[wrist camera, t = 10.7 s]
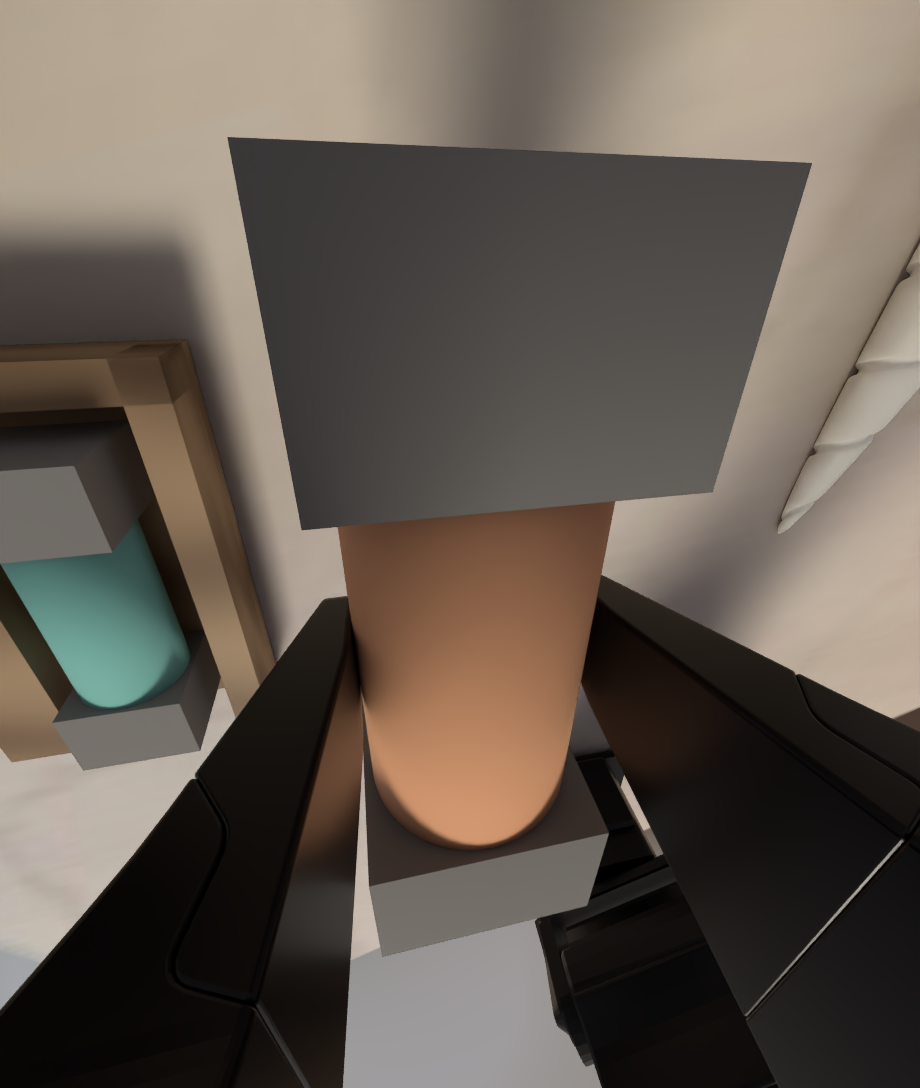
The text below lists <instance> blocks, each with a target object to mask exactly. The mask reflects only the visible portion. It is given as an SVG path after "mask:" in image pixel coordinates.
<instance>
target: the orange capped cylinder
mask: <svg viewBox="0 0 920 1088" xmlns="http://www.w3.org/2000/svg"><path fill="white" fill-rule="evenodd" d="M228 143H229V148H230V153H231V158H232V164H233V169H234V174H235V180H236V185H237V190H238V195H239V201H240V206H241V211H242V217H243V222H244V227H245V232H246V238H247V243H248V248H249V254H250V259H251V264H252V270H253V275H254V280H255V285H256V291H257V296H258V301H259V307H260V312H261V317H262V322H263V328H264V333H265V338H266V344H267V349H268V354H269V360H270V365H271V370H272V375H273V381H274V386H275V391H276V397H277V402H278V407H279V412H280V418H281V423H282V428H283V434H284V439H285V444H286V449H287V455H288V460H289V465H290V471H291V476H292V481H293V487H294V492H295V497H296V502H297V508H298V513H299V518H300V524H301V529H302V530H310V529H320V528H331V527H338V532H339V539H340V546H341V553H342V560H343V567H344V574H345V581H346V588H347V595H348V602H349V609H350V615H351V622H352V629H353V636H354V643H355V650H356V657H357V664H358V671H359V678H360V685H361V700H362V715H363V754H364V778H365V802H366V826H367V849H368V873H369V889H370V894H371V899H372V905H373V910H374V915H375V921H376V926H377V931H378V936H379V942H380V947H381V952H382V957H384V956H388V955H392V954H396V953H400V952H404V951H408V950H412V949H416V948H420V947H424V946H428V945H432V944H436V943H440V942H444V941H448V940H452V939H456V938H460V937H464V936H468V935H472V934H476V933H480V932H484V931H488V930H492V929H496V928H500V927H504V926H508V925H512V924H516V923H520V922H524V921H528V920H532V919H536V918H540V917H544V916H548V915H552V914H556V913H560V912H564V911H568V910H572V909H576V908H580V907H584V906H587V904H588V901H589V898H590V894H591V891H592V888H593V885H594V881H595V878H596V875H597V871H598V868H599V865H600V861H601V858H602V855H603V852H604V848H605V845H606V842H607V838H608V835H609V832H608V829H607V827H606V825H605V823H604V821H603V818H602V816H601V814H600V812H599V810H598V808H597V805H596V803H595V801H594V799H593V797H592V794H591V792H590V790H589V788H588V786H587V783H586V781H585V779H584V777H583V775H582V773H581V770H580V768H579V766H578V764H577V762H576V759H575V757H574V755H573V753H572V751H571V748H570V746H569V741H570V736H571V730H572V725H573V720H574V715H575V709H576V704H577V699H578V694H579V688H580V683H581V678H582V673H583V667H584V662H585V657H586V652H587V646H588V641H589V636H590V631H591V625H592V620H593V615H594V610H595V604H596V599H597V594H598V589H599V583H600V578H601V573H602V568H603V562H604V557H605V552H606V547H607V541H608V536H609V531H610V526H611V520H612V515H613V510H614V505H615V501H622V500H633V499H644V498H655V497H666V496H676V495H687V494H698V493H709V492H713V489H714V485H715V482H716V479H717V475H718V472H719V469H720V465H721V462H722V459H723V456H724V452H725V449H726V446H727V442H728V439H729V436H730V432H731V429H732V426H733V423H734V419H735V416H736V413H737V409H738V406H739V403H740V399H741V396H742V393H743V390H744V386H745V383H746V380H747V376H748V373H749V370H750V366H751V363H752V360H753V357H754V353H755V350H756V347H757V343H758V340H759V337H760V333H761V330H762V327H763V324H764V320H765V317H766V314H767V310H768V307H769V304H770V300H771V297H772V294H773V291H774V287H775V284H776V281H777V277H778V274H779V271H780V267H781V264H782V261H783V258H784V254H785V251H786V248H787V244H788V241H789V238H790V234H791V231H792V228H793V225H794V221H795V218H796V215H797V211H798V208H799V205H800V202H801V198H802V195H803V192H804V188H805V185H806V182H807V178H808V175H809V172H810V169H811V165H812V163H800V162H777V161H754V160H732V159H709V158H687V157H664V156H641V155H619V154H596V153H574V152H551V151H529V150H506V149H483V148H461V147H438V146H416V145H393V144H370V143H348V142H325V141H303V140H280V139H257V138H235V137H228Z"/></svg>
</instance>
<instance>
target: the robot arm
mask: <svg viewBox="0 0 920 1088" xmlns="http://www.w3.org/2000/svg"><path fill="white" fill-rule="evenodd" d="M581 684H582V687H583V689H584V692H585V694H586V697H587V699H588V702H589V704H590V706H591V708H592V710H593V712H594V714H595V716H596V718H597V720H598V722H599V725H600V727H601V729H602V731H603V733H604V735H605V737H606V739H607V741H608V743H609V745H610V747H611V749H612V751H611V752H606V753H600V754H595V755H590V756H585V757H580V758H575V759H576V762H577V764H578V766H579V768H580V770H581V773H582V775H583V777H584V779H585V781H586V783H587V786H588V788H589V790H590V792H591V794H592V797H593V799H594V801H595V803H596V805H597V808H598V810H599V812H600V814H601V816H602V818H603V821H604V823H605V825H606V827H607V829H608V832H609V835H608V838H607V842H606V845H605V848H604V852H603V855H602V858H601V861H600V865H599V868H598V871H597V875H596V878H595V881H594V885H593V888H592V891H591V894H590V898H589V901H588V904H587V906H584V907H580V908H576V909H572V910H568V911H564V912H560V913H556V914H552V915H548V916H544V917H540V918H538V919H537V920H536V921H535V924H536V928H537V931H538V935H539V938H540V942H541V945H542V949H543V953H544V957H545V962H546V968H547V975H548V981H549V988H550V994H551V1000H552V1007H553V1013H554V1017H555V1020H556V1023H557V1026H558V1027H559V1028H560V1029H561V1030H563V1031H564V1032H566V1033H567V1034H568V1035H569V1036H570V1038H571V1040H572V1042H573V1044H574V1046H575V1047H576V1049H577V1051H578V1053H579V1055H580V1058H581V1059H582V1061H583V1063H584V1064H585V1066H590V1065H592V1064H594V1065H595V1068H596V1071H597V1074H598V1077H599V1080H600V1083H601V1086H602V1088H920V731H918V730H916V729H914V728H912V727H910V726H907V725H905V724H903V723H901V722H898V721H896V720H894V719H892V718H890V717H887V716H885V715H883V714H881V713H878V712H876V711H874V710H872V709H870V708H868V707H866V706H864V705H862V704H860V703H857V702H855V701H853V700H851V699H849V698H847V697H845V696H843V695H841V694H839V693H837V692H835V691H833V690H831V689H829V688H827V687H825V686H823V685H821V684H819V683H817V682H815V681H813V680H811V679H809V678H807V677H805V676H803V675H801V674H797V675H795V672H794V671H792V670H791V669H789V668H787V667H785V666H783V665H781V664H779V663H777V662H775V661H773V660H771V659H769V658H767V657H765V656H763V655H761V654H759V653H757V652H755V651H753V650H751V649H749V648H747V647H745V646H743V645H741V644H739V643H737V642H735V641H733V640H731V639H729V638H727V637H725V636H723V635H721V634H719V633H717V632H715V631H713V630H711V629H709V628H707V627H705V626H703V625H701V624H699V623H697V622H695V621H693V620H691V619H689V618H687V617H685V616H683V615H681V614H679V613H677V612H675V611H673V610H671V609H669V608H667V607H665V606H663V605H661V604H659V603H657V602H655V601H653V600H651V599H649V598H647V597H645V596H643V595H641V594H639V593H637V592H635V591H633V590H631V589H629V588H627V587H625V586H623V585H621V584H619V583H617V582H615V581H613V580H611V579H609V578H607V577H605V576H603V575H601V578H600V583H599V589H598V594H597V599H596V604H595V610H594V615H593V620H592V625H591V631H590V636H589V641H588V646H587V652H586V657H585V662H584V667H583V673H582V678H581ZM362 759H363V715H362V700H361V685H360V678H359V671H358V664H357V657H356V650H355V643H354V636H353V629H352V622H351V615H350V609H349V602H348V596H344V597H335V598H327V599H324V600H323V601H322V602H321V603H320V605H319V606H318V608H317V609H316V610H315V612H314V613H313V614H312V616H311V617H310V618H309V620H308V621H307V623H306V624H305V625H304V627H303V628H302V629H301V631H300V632H299V633H298V635H297V636H296V637H295V639H294V640H293V642H292V643H291V644H290V646H289V647H288V648H287V650H286V651H285V652H284V654H283V655H282V656H281V658H280V659H279V661H278V662H277V663H276V665H275V666H274V667H273V669H272V670H271V671H270V673H269V674H268V675H267V677H266V678H265V680H264V681H263V682H262V684H261V685H260V686H259V688H258V689H257V690H256V692H255V693H254V694H253V696H252V697H251V699H250V700H249V701H248V703H247V704H246V705H245V707H244V708H243V709H242V711H241V712H240V714H239V715H238V716H237V718H236V719H235V720H234V722H233V723H232V724H231V726H230V727H229V728H228V730H227V731H226V733H225V734H224V735H223V737H222V738H221V739H220V741H219V742H218V743H217V745H216V746H215V747H214V749H213V750H212V752H211V753H210V754H209V756H208V757H207V758H206V760H205V761H204V762H203V764H202V765H201V766H200V768H199V769H198V771H197V772H196V773H195V778H196V779H191V780H190V781H189V782H188V784H187V785H186V786H185V788H184V789H183V790H182V792H181V793H180V795H179V796H178V797H177V799H176V800H175V801H174V803H173V804H172V805H171V807H170V808H169V809H168V811H167V812H166V813H165V815H164V816H163V817H162V818H161V820H160V821H159V822H158V824H157V825H156V826H155V827H154V829H153V830H152V831H151V833H150V834H149V835H148V837H147V838H146V839H145V840H144V842H143V843H142V844H141V846H140V847H139V848H138V849H137V851H136V852H135V853H134V855H133V856H132V857H131V858H130V859H129V861H128V862H127V863H126V864H125V865H124V867H123V868H122V869H121V870H120V871H119V873H118V874H117V875H116V876H115V877H114V879H113V880H112V881H111V882H110V883H109V884H108V886H107V887H106V888H105V889H104V890H103V892H102V893H101V894H100V895H99V896H98V898H97V899H96V900H95V901H94V902H93V904H92V905H91V906H90V907H89V908H88V909H87V911H86V912H85V913H84V914H83V915H82V916H81V918H80V919H79V920H78V921H77V922H76V923H75V925H74V926H73V927H72V928H71V929H70V930H69V931H68V933H67V934H66V935H65V936H64V937H63V938H62V939H61V941H60V942H59V943H58V944H57V945H56V946H55V947H54V949H53V950H52V951H51V952H50V953H49V954H48V956H47V957H46V958H45V959H44V960H43V961H42V962H41V964H40V965H39V966H38V967H37V968H36V969H35V971H34V972H33V973H32V974H31V975H30V976H29V977H28V978H27V980H26V981H25V982H24V983H23V984H22V986H21V987H20V988H19V989H18V990H17V991H16V992H15V993H14V995H13V996H12V997H11V998H10V999H9V1000H8V1001H7V1003H6V1004H5V1005H4V1006H3V1007H2V1008H1V1010H0V1088H343V1074H344V1057H345V1041H346V1025H347V1008H348V991H349V975H350V958H351V942H352V925H353V908H354V892H355V875H356V859H357V842H358V825H359V809H360V792H361V776H362ZM624 775H625V777H626V779H627V781H628V783H629V785H630V787H631V789H632V791H633V793H634V795H635V797H636V799H637V801H638V803H639V805H640V807H641V809H642V811H643V813H644V815H645V817H646V819H647V821H648V823H649V825H650V827H651V829H652V831H653V833H654V835H655V837H656V839H657V841H658V843H659V845H660V847H661V849H662V851H663V854H662V855H660V856H658V857H657V856H656V854H655V852H654V851H653V848H652V847H651V845H650V843H649V841H648V839H647V837H646V835H645V833H644V831H643V829H642V827H641V825H640V823H639V821H638V819H637V818H636V816H635V814H634V812H633V810H632V808H631V806H630V804H629V802H628V800H627V798H626V796H625V794H624V792H623V791H622V789H621V784H622V780H623V777H624Z"/></svg>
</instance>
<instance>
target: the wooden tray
mask: <svg viewBox="0 0 920 1088" xmlns="http://www.w3.org/2000/svg"><path fill="white" fill-rule="evenodd" d="M123 420H128V421H129V423H130V426H131V429H132V432H133V434H134V437H135V440H136V443H137V445H138V448H139V451H140V454H141V457H142V459H143V462H144V465H145V468H146V470H147V473H148V476H149V479H150V481H151V484H152V487H153V490H154V493H155V497H154V498H153V499H152V501H151V502H150V503H149V505H148V506H147V507H146V509H145V510H144V511H143V513H142V514H141V515H140V517H139V518H138V520H139V523H140V525H141V528H142V530H143V533H144V535H145V538H146V540H147V543H148V546H149V548H150V551H151V553H152V556H153V558H154V561H155V563H156V566H157V568H158V571H159V573H160V576H161V579H162V581H163V584H164V586H165V589H166V591H167V594H168V596H169V599H170V601H171V604H172V606H173V609H174V612H175V614H176V617H177V619H178V622H179V624H180V627H181V629H182V632H189V631H197V630H204V631H205V634H206V637H207V639H208V642H209V645H210V648H211V650H212V653H213V656H214V659H215V661H216V664H217V667H218V670H219V672H220V675H221V679H220V683H219V686H218V689H220V688H225V689H226V692H227V695H228V697H229V700H230V703H231V706H232V708H233V711H234V714H235V717H236V718H237V716H238V715H239V714H240V712H241V711H242V709H243V708H244V707H245V705H246V704H247V703H248V701H249V700H250V699H251V697H252V696H253V694H254V693H255V692H256V690H257V689H258V688H259V686H260V685H261V684H262V682H263V681H264V680H265V678H266V677H267V675H268V674H269V673H270V671H271V670H272V669H273V667H274V666H275V665H276V663H275V659H274V655H273V652H272V648H271V644H270V641H269V637H268V633H267V630H266V626H265V622H264V619H263V615H262V611H261V608H260V604H259V600H258V597H257V593H256V589H255V586H254V582H253V578H252V575H251V571H250V568H249V564H248V560H247V557H246V553H245V549H244V546H243V542H242V538H241V535H240V531H239V527H238V524H237V520H236V516H235V513H234V509H233V505H232V502H231V498H230V494H229V491H228V487H227V483H226V480H225V476H224V472H223V469H222V465H221V461H220V458H219V454H218V450H217V447H216V443H215V439H214V436H213V432H212V429H211V425H210V421H209V418H208V414H207V410H206V407H205V403H204V399H203V396H202V392H201V388H200V385H199V381H198V377H197V374H196V370H195V366H194V363H193V359H192V355H191V352H190V348H189V344H188V341H187V340H160V341H128V342H96V343H63V344H31V345H0V428H1V427H18V426H36V425H53V424H71V423H88V422H106V421H123ZM73 688H74V687H73V686H72V684H71V682H70V680H69V679H68V677H67V675H66V674H65V672H64V670H63V669H62V667H61V665H60V664H59V662H58V660H57V659H56V657H55V655H54V654H53V652H52V650H51V649H50V647H49V645H48V643H47V642H46V640H45V638H44V637H43V635H42V633H41V632H40V630H39V628H38V627H37V625H36V623H35V622H34V620H33V618H32V617H31V615H30V613H29V611H28V610H27V608H26V606H25V605H24V603H23V601H22V600H21V598H20V596H19V595H18V593H17V591H16V590H15V588H14V586H13V585H12V583H11V581H10V579H9V578H8V576H7V574H6V573H5V571H4V569H3V568H2V566H1V564H0V748H1V749H2V750H3V752H4V753H5V754H6V755H7V757H8V758H9V759H10V761H11V762H17V761H23V760H29V759H35V758H41V757H48V756H54V755H60V754H66V753H71V751H70V750H69V748H68V747H67V745H66V744H65V742H64V741H63V739H62V738H61V736H60V735H59V733H58V732H57V730H56V729H55V727H54V726H53V724H52V722H53V720H54V719H55V717H56V715H57V714H58V712H59V711H60V709H61V707H62V706H63V704H64V702H65V701H66V699H67V697H68V696H69V694H70V693H71V691H72V689H73Z"/></svg>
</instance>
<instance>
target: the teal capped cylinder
mask: <svg viewBox="0 0 920 1088" xmlns="http://www.w3.org/2000/svg"><path fill="white" fill-rule="evenodd" d="M154 497H155V493H154V490H153V487H152V484H151V481H150V479H149V476H148V473H147V470H146V468H145V465H144V462H143V459H142V457H141V454H140V451H139V448H138V445H137V443H136V440H135V437H134V434H133V432H132V429H131V426H130V423H129V421H128V420H123V421H106V422H88V423H71V424H53V425H36V426H18V427H1V428H0V564H1V566H2V568H3V569H4V571H5V573H6V574H7V576H8V578H9V579H10V581H11V583H12V585H13V586H14V588H15V590H16V591H17V593H18V595H19V596H20V598H21V600H22V601H23V603H24V605H25V606H26V608H27V610H28V611H29V613H30V615H31V617H32V618H33V620H34V622H35V623H36V625H37V627H38V628H39V630H40V632H41V633H42V635H43V637H44V638H45V640H46V642H47V643H48V645H49V647H50V649H51V650H52V652H53V654H54V655H55V657H56V659H57V660H58V662H59V664H60V665H61V667H62V669H63V670H64V672H65V674H66V675H67V677H68V679H69V680H70V682H71V684H72V686H73V687H74V688H73V689H72V691H71V693H70V694H69V696H68V697H67V699H66V701H65V702H64V704H63V706H62V707H61V709H60V711H59V712H58V714H57V715H56V717H55V719H54V720H53V722H52V724H53V726H54V727H55V729H56V730H57V732H58V733H59V735H60V736H61V738H62V739H63V741H64V742H65V744H66V745H67V747H68V748H69V750H70V751H71V753H72V754H73V756H74V757H75V759H76V760H77V762H78V763H79V765H80V766H81V768H82V769H83V770H89V769H95V768H101V767H107V766H113V765H119V764H125V763H131V762H137V761H143V760H149V759H155V758H160V757H166V756H172V755H178V754H184V753H190V752H196V751H200V750H201V746H202V743H203V739H204V736H205V732H206V728H207V725H208V721H209V718H210V714H211V711H212V707H213V704H214V700H215V697H216V693H217V690H218V686H219V683H220V679H221V675H220V672H219V670H218V667H217V664H216V661H215V659H214V656H213V653H212V650H211V648H210V645H209V642H208V639H207V637H206V634H205V631H204V630H197V631H189V632H182V629H181V627H180V624H179V622H178V619H177V617H176V614H175V612H174V609H173V606H172V604H171V601H170V599H169V596H168V594H167V591H166V589H165V586H164V584H163V581H162V579H161V576H160V573H159V571H158V568H157V566H156V563H155V561H154V558H153V556H152V553H151V551H150V548H149V546H148V543H147V540H146V538H145V535H144V533H143V530H142V528H141V525H140V523H139V520H138V518H139V517H140V515H141V514H142V513H143V511H144V510H145V509H146V507H147V506H148V505H149V503H150V502H151V501H152V499H153V498H154Z"/></svg>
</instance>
